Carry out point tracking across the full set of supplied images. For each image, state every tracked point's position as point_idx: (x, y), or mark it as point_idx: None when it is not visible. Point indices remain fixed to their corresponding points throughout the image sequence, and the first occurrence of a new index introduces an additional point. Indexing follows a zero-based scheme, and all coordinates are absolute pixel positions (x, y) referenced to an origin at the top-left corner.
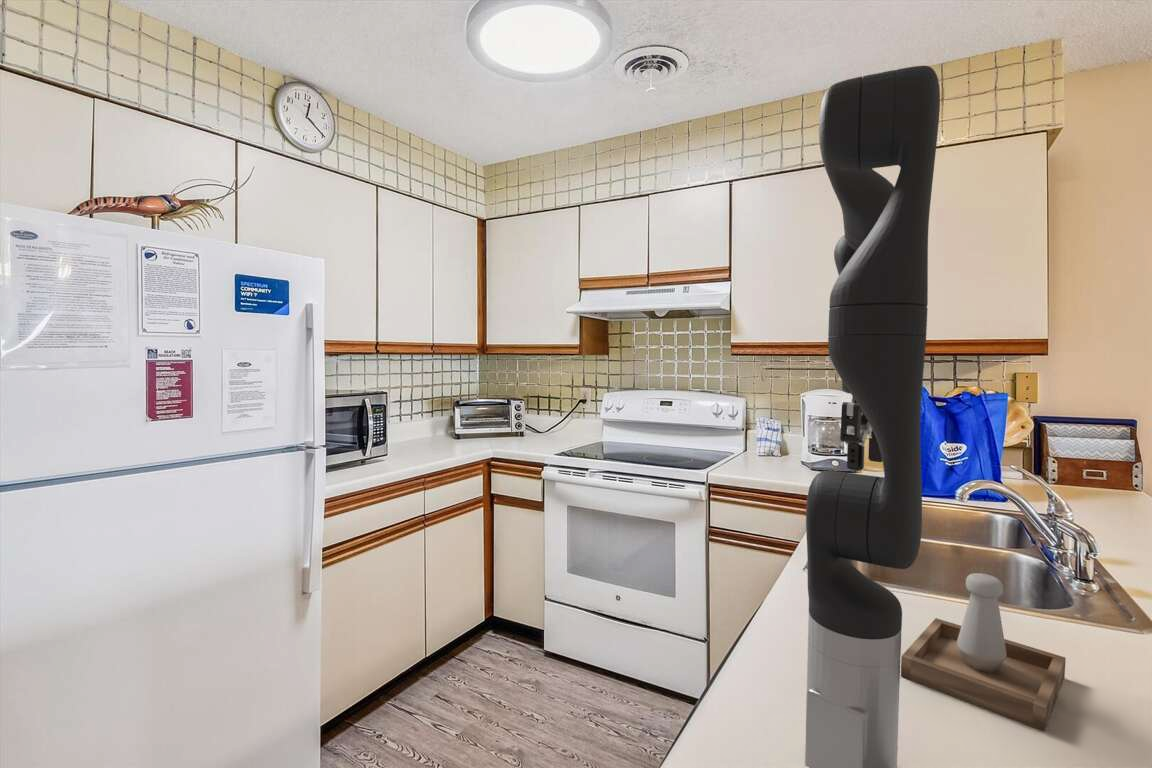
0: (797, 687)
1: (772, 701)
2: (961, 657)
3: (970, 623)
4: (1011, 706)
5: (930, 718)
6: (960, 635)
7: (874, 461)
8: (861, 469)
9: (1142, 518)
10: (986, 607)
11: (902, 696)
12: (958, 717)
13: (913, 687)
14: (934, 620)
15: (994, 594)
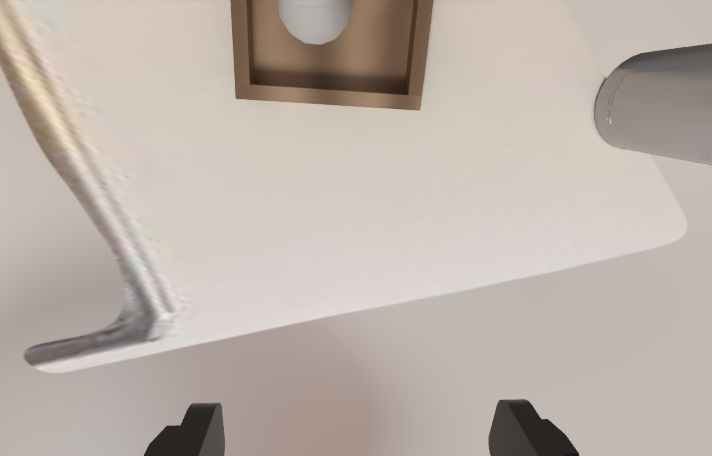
0: (519, 202)
1: (562, 211)
2: None
3: (339, 8)
4: None
5: (494, 49)
6: (329, 34)
7: (223, 428)
8: (523, 400)
9: None
10: None
11: (463, 93)
12: (470, 18)
13: (430, 87)
14: (248, 98)
15: None
